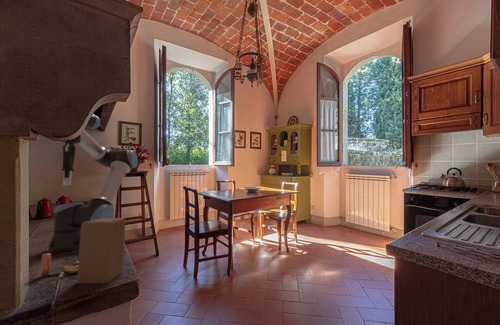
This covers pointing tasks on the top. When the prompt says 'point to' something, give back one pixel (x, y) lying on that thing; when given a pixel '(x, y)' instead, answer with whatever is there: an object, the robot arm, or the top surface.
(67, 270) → the crank handle
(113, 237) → the wooden block
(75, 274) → the level base
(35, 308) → the top surface
